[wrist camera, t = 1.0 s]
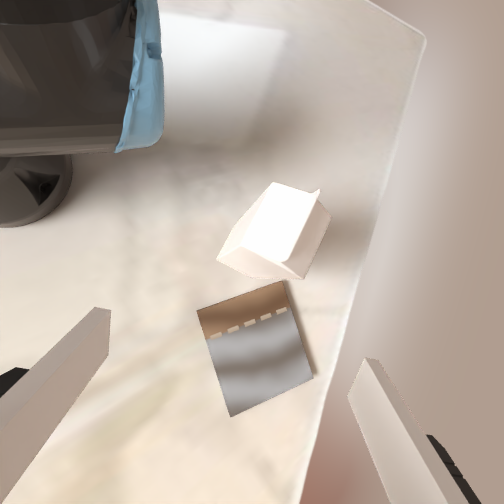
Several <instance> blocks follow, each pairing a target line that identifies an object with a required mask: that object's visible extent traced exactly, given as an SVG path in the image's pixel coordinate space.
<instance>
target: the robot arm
mask: <svg viewBox="0 0 504 504" xmlns="http://www.w3.org/2000/svg"><path fill="white" fill-rule="evenodd" d="M161 53H162V50H161V29H160V19H159V10H158V3H157V0H0V228H8V227H17V226H22V225H26V224H29V223H32V222H34V221H37V220H39V219H41V218H42V217H44V216H46V215H47V214H49V213H50V212H51V211H53V210H54V209H55V208H56V207H57V206H58V205H59V204H60V203H61V201H62V200H63V199H64V197H65V195H66V194H67V192H68V189H69V187H70V184H71V179H72V162H71V158H70V154H80V153H99V152H114V153H117V152H121V151H122V150H127V149H135V148H144V147H150V146H151V145H154V143H156V142H157V141H158V140H159V139H160V137H161V136H162V132H163V127H164V75H163V62H162V58H161ZM110 318H111V310H108V309H102V308H97V307H94V308H93V309H92V310H91V311H90V312H89V313H88V314H87V315H86V316H85V317H84V318H83V319H82V320H81V321H80V322H79V323H78V324H77V325H76V326H75V327H74V328H73V329H72V330H71V331H70V332H69V333H67V334H66V335H65V336H64V337H63V338H62V339H61V340H60V341H59V342H58V343H57V344H56V345H55V346H54V347H53V348H52V349H51V350H50V351H49V352H48V353H47V354H46V355H45V356H44V357H43V358H41V359H40V360H39V361H38V362H37V363H36V364H35V365H34V366H33V367H32V368H31V369H30V370H29V369H23V368H17V367H15V368H14V369H12V370H10V371H8V372H6V373H4V374H2V375H1V376H0V504H2V502H3V501H4V499H5V498H6V497H7V495H8V494H9V492H10V491H11V490H12V488H13V487H14V485H15V484H16V483H17V481H18V480H19V479H20V477H21V476H22V474H23V473H24V472H25V470H26V469H27V467H28V466H29V465H30V463H31V462H32V460H33V459H34V458H35V456H36V455H37V454H38V452H39V451H40V449H41V448H42V447H43V445H44V444H45V442H46V441H47V440H48V438H49V437H50V435H51V434H52V433H53V431H54V430H55V428H56V427H57V426H58V424H59V423H60V422H61V420H62V419H63V417H64V416H65V415H66V413H67V412H68V410H69V409H70V408H71V406H72V405H73V403H74V402H75V401H76V399H77V398H78V397H79V395H80V394H81V392H82V391H83V390H84V388H85V387H86V385H87V384H88V383H89V381H90V380H91V378H92V377H93V376H94V374H95V373H96V371H97V370H98V369H99V367H100V366H101V365H102V363H103V362H104V360H105V359H106V358H107V356H108V352H109V335H110ZM347 398H348V400H349V402H350V405H351V407H352V410H353V412H354V415H355V417H356V420H357V422H358V425H359V427H360V430H361V432H362V435H363V437H364V440H365V442H366V445H367V447H368V449H369V452H370V454H371V457H372V459H373V462H374V464H375V467H376V469H377V472H378V474H379V477H380V479H381V482H382V484H383V487H384V489H385V491H386V494H387V497H388V499H389V501H390V504H481V502H480V501H479V499H478V498H477V496H476V495H475V493H474V492H473V490H472V489H471V487H470V486H469V484H468V483H467V481H466V480H465V479H463V475H462V474H461V472H460V471H459V469H458V468H457V467H456V466H455V465H454V462H453V460H452V459H451V457H450V456H449V454H448V453H447V451H446V450H445V448H444V447H442V445H441V444H440V443H439V442H438V441H437V440H436V439H435V438H434V437H433V436H432V435H426V434H425V433H424V432H423V430H422V428H421V427H420V425H419V424H418V422H417V421H416V419H415V417H414V416H413V414H412V412H411V411H410V409H409V408H408V406H407V405H406V403H405V402H404V400H403V398H402V397H401V395H400V394H399V392H398V390H397V389H396V387H395V386H394V384H393V382H392V381H391V379H390V378H389V376H388V374H387V373H386V371H385V370H384V368H383V367H382V365H381V363H380V362H379V360H375V359H370V358H364V360H363V363H362V365H361V367H360V369H359V371H358V374H357V376H356V378H355V380H354V382H353V385H352V387H351V389H350V391H349V394H348V396H347Z"/></svg>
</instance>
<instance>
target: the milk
mask: <svg viewBox="0 0 504 504" xmlns="http://www.w3.org/2000/svg"><path fill="white" fill-rule="evenodd" d="M320 192H321V189H318V190H316V191H315V192H313V193H309V192H305V191H302V190H299V189H295V188H292V187H289V186H285V185H282V184H279V183H275V182H273V183H271V185H270V186H269V187H268V188H267V189H266V190H265V191H264V193H263V194H262V195H261V196H260V197H259V198H258V199H257V200H256V202H255V203H254V204H253V205H252V206H251V207H250V208H249V209H248V211H247V212H246V213H245V214H244V215H243V216H242V217H241V218H240V220H239V221H238V222H237V223H236V224H235V225H234V227H233V229H232V231H231V233H230V235H229V237H228V239H227V240H226V242H225V244H224V246H223V248H222V250H221V252H220V254H219V255H218V257H217V260H218V261H220V262H222V263H224V264H225V265H227V266H229V267H231V268H233V269H235V270H237V271H239V272H241V273H243V274H244V275H246V276H248V277H250V278H266V279H304V278H305V276H306V274H307V272H308V269H309V267H310V265H311V263H312V261H313V258H314V256H315V254H316V252H317V250H318V247H319V245H320V243H321V241H322V239H323V237H324V234H325V232H326V230H327V228H328V226H329V223H330V221H331V219H332V217H331V215H330V214H329V213H328V212H327V211H326V209H325V208H324V207H323V206H322V205H321V203H320V202H319V201H318V200H317V198H318V196H319V194H320Z"/></svg>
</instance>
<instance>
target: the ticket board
mask: <svg viewBox="0 0 504 504" xmlns="http://www.w3.org/2000/svg"><path fill="white" fill-rule="evenodd" d="M197 314H198V317H199V320H200V324H201V327H202V330H203V333H204V336H205V339H206V342H207V346H208V349H209V352H210V355H211V358H212V361H213V364H214V368H215V371H216V374H217V377H218V380H219V383H220V386H221V390H222V393H223V396H224V399H225V402H226V405H227V409H228V412H229V415H230V417H233V416H235V415H237V414H239V413H241V412H243V411H245V410H247V409H250V408H252V407H254V406H256V405H258V404H260V403H262V402H264V401H267V400H269V399H271V398H273V397H275V396H277V395H279V394H281V393H283V392H286V391H288V390H290V389H292V388H294V387H296V386H298V385H300V384H303V383H305V382H307V381H309V380H311V379H313V375H312V372H311V369H310V366H309V363H308V360H307V356H306V353H305V350H304V347H303V344H302V341H301V338H300V335H299V332H298V329H297V326H296V322H295V319H294V316H293V313H292V310H291V307H290V304H289V301H288V298H287V295H286V292H285V288H284V285H283V282H282V281H279V282H276V283H273V284H270V285H268V286H265V287H262V288H259V289H256V290H254V291H251V292H248V293H245V294H242V295H240V296H237V297H234V298H231V299H228V300H226V301H223V302H220V303H217V304H214V305H212V306H209V307H206V308H203V309H200V310H197Z"/></svg>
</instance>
